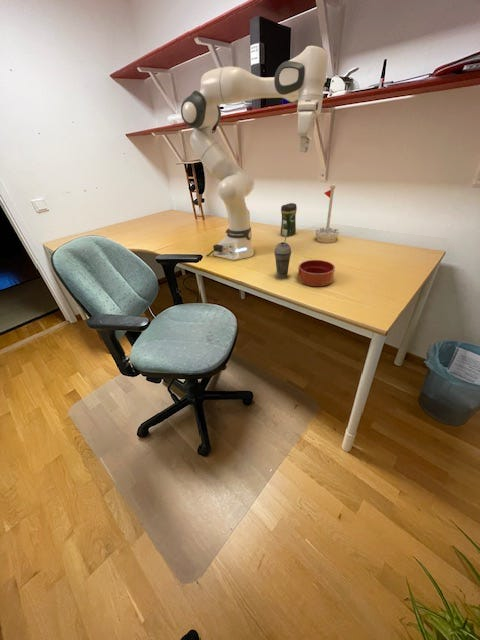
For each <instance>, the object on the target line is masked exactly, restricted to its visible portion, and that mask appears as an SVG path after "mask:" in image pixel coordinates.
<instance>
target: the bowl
mask: <svg viewBox="0 0 480 640" xmlns="http://www.w3.org/2000/svg"><path fill="white" fill-rule="evenodd" d="M335 271H336V266H335V264H333V263H332V262H330V261H327V260H323V259H309V260H305V261H302V262H300V263H299V264H298V267H297V280H298V281H299V282H300V283H301V284H304V285H306V286H310V287H323V286H328V285H330V284H332V283H333V281H334V278H335Z"/></svg>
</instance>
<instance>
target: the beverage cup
mask: <svg viewBox="0 0 480 640" xmlns="http://www.w3.org/2000/svg"><path fill="white" fill-rule="evenodd" d="M287 237H288V236H287V232H286V234H285V236H284V241H282V242H279V243H278V244H277V245H276V246H275V248H274V252H273V253H274V258H275V267H276V268H275V270H276V278H277V279H279V280H284V279H287V278H288V274H289V266H290V261H291V255H292V247H291V245H290V244H289V243H287V242H286V241H287Z"/></svg>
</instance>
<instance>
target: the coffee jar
mask: <svg viewBox="0 0 480 640" xmlns="http://www.w3.org/2000/svg"><path fill="white" fill-rule="evenodd" d="M297 209H298V207H297V204H296V203H295V202H289V203H286V204H282V205H281V206H280V214H281V222H280V223H281V224H280V235H281V236H282V237H285V234H286V232H287V236H286V237H291V236H293V235H295V234H296V233H297V232H296V231H297V227H296V224H297V223H296V217H297Z"/></svg>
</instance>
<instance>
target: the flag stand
mask: <svg viewBox="0 0 480 640" xmlns="http://www.w3.org/2000/svg"><path fill="white" fill-rule="evenodd" d="M336 187H337V185H336V183H331V184H330V185H329V188H330V189H329V190H327V191H325V192H323V194H324V195H326V196H327V197H328V198H329V202H328V212H327V218H326V219H327V220H326V227H320V228H319V229H318V228H316V230H315V236H316V241H317V242H319V243H326V244H329V243H334V242H336V241H337V237H338V236H339V235H340V230H339V229H338V228H334V229H333V227H330V223H331V215H332V209H333V200H334V193H335V189H336Z"/></svg>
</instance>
